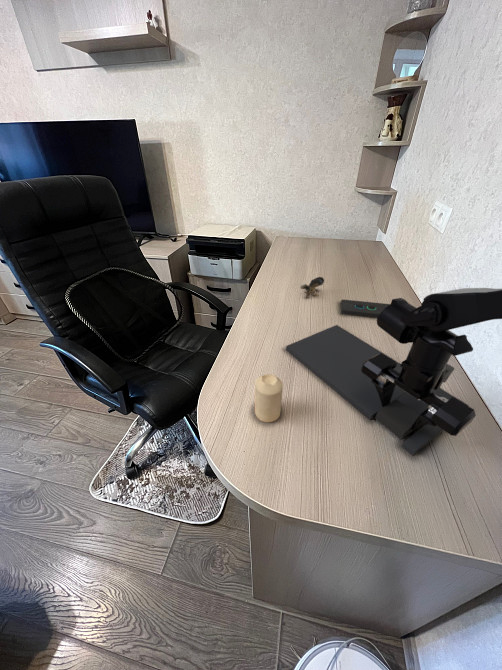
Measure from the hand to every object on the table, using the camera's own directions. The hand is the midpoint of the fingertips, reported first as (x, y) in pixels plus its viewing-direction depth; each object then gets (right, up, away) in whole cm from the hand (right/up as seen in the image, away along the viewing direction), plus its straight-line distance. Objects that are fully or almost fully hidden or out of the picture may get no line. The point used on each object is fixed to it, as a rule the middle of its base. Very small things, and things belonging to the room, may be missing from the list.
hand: (398, 418), depth 56 cm
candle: (-26, 0, +4) cm, 27 cm away
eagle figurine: (-7, +32, +50) cm, 60 cm away
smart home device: (+11, +25, +39) cm, 48 cm away
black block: (0, -1, +1) cm, 1 cm away
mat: (-1, +7, +13) cm, 15 cm away
